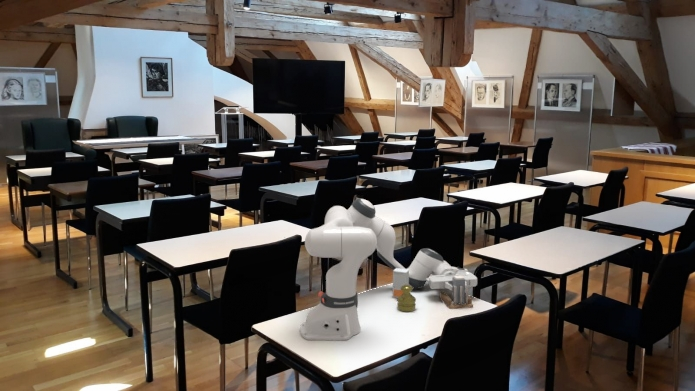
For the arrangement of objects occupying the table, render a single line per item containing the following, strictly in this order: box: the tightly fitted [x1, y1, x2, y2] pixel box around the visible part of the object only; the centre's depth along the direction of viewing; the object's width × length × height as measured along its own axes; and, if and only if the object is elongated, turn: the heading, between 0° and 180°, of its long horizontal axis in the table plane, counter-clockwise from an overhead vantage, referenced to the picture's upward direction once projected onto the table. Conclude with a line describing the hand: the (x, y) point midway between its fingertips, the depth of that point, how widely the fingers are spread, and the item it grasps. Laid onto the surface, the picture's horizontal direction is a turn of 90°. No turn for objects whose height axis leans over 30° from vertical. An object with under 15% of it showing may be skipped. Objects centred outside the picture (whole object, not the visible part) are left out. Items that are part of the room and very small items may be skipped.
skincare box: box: [391, 268, 409, 298], centre depth 242 cm, size 6×4×12 cm
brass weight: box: [396, 285, 417, 313], centre depth 229 cm, size 7×7×10 cm
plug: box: [451, 275, 466, 305], centre depth 233 cm, size 4×4×11 cm
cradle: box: [439, 285, 474, 310], centre depth 235 cm, size 10×12×9 cm
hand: (459, 287), depth 232 cm, fingers closed on plug, 4 cm apart
